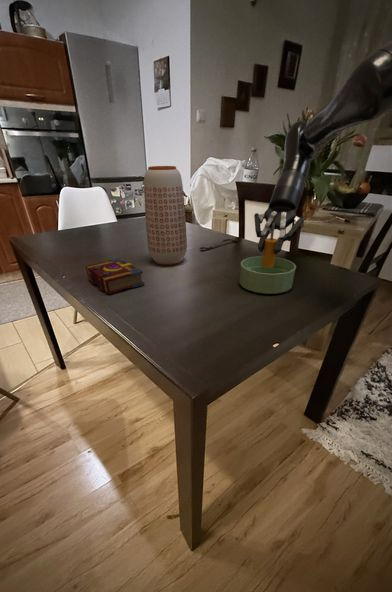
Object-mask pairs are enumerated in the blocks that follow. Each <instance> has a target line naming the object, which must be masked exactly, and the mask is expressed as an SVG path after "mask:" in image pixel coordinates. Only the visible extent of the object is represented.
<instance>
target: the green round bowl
mask: <svg viewBox="0 0 392 592" xmlns="http://www.w3.org/2000/svg"><path fill="white" fill-rule="evenodd" d="M262 258H263V255H257V256H256V255H255V256H250V257H247V258H245V259H243V260H242V261H240V268H239V279H238V282H239V285H240V286H241V287H242V288H244V289H245V290H247V291H250V292H253V293H259V294H267V295H274V294H282V293H285V292H288V291H289V290H291V289H292V288H293V285H294V280H295V275H296V270H297V265H296V264H295V263H294V262H293V261H292V260H289V259H286V258H283V257H278V256H275V263H274V267H272V268H265V267H263V266H262Z"/></svg>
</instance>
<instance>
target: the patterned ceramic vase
mask: <svg viewBox="0 0 392 592" xmlns="http://www.w3.org/2000/svg"><path fill="white" fill-rule="evenodd" d="M143 177H144V178H143V186H144V187H143V197H144V198H143V199H144V215H145V229H146V241H147V250H148V253H149V256H150V257H151V258H152V260H153V261H154V262H155V263H156V264H157V265H160V266H168V267H169V266H175V265H178V264H180V263H181V262H182V260H184V258H185V256H186V254H187V251H188V241H187V240H188V239H187V221H186V220H187V219H186V208H185V206H186V205H185V196H184V195H185V194H184V185H183V179H182V175H181V172H180V170H179V169H178V168H177V166H175V165H152V166H148V167H147V170H145V173H144V176H143Z"/></svg>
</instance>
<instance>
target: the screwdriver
mask: <svg viewBox="0 0 392 592" xmlns="http://www.w3.org/2000/svg"><path fill="white" fill-rule="evenodd" d="M274 227H275V224H272V229H271V233H270V235H269V236H270V237H269V238H268V237H267V239H265V242H264V250H263V252H262V256H263V258H262V266H263V267H265V268H272V267H274V263H275V257H277V254H274V248H275V245H276V242H277V239H278V238H274V234H275V229H274Z"/></svg>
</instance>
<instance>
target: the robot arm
mask: <svg viewBox="0 0 392 592" xmlns="http://www.w3.org/2000/svg"><path fill="white" fill-rule="evenodd" d="M391 111H392V39H391V40H390V41H388V42H387V43H385V44H384V45H382V46H381V47H378V48H377V49H376V50H375V51H373V52H371V53H370V54H368V56H366V57H365V58H363V60H362V61H360V63H358V64H357V66H356V67H355V68H354V69H353V71H352V72H351V73H350V74H349V76H348V77H347V79H346V80H345V82H344V83H343V84H342V86H341V87H340V89H339V90H338V92H337V93H336V94H335V95H334V97H333V98H332V99H331V100H330V101H329V102H328V103H327V104H325V105H324V106H323V107H322V108H321V109H319V110H318V111H317V112H316V113H315V114H314V115H313V116H312V117H311V118H310V119H309V120H308V121H307V122H306V121H305V120H298V121H295V122H294V123H293V124H292V125H291V126H290V128H289V129H288V131H287V133H286V137H285V141H284V155H283V166H282V168H281V171H280V174H279V177H278V179H277V181H276V183H275V186H274V189H273V192H272V194H271V197H270V201H269V204H268V207H267V209H266V210H265V211H264V212H263V213H260V214H259V213H258V212H256V213H254V215H253V218H254V229H255V230H254V231H255V234H256V235H255V236H256V237H257V238H259V240H258V244H257V249H258V251H259V253H263V250H264V242H265V239H267V238H268V237H269V236H270V235H271V229H272V224H275V227H274V230H278V231H279V236H278V237H277V238H276V239H277V242H276V245H275V248H274V254H276V255H278V253H281V251H282V249H283V245H284V243H285V242H292V241H293V239H295V237H296V236H297V235H298V233H299V232H300V230H302V229H303V227H305V226H304V225H305V218H304V217H303V216H301V217H299V216H297V210H298V208H299V204H300V202H301V198H302V197H303V192H304V189H305V184H306V181H307V177H308V174H309V171H310V168H311V161H315V159H317V158H318V156H319V155H320V154H321V152H322V151H323V149H324V147H325V146H326V145H327V144H328V143H330V142H332V141H333V140H335V139H336V138H337V137H338V136H340V135H341V134H342V133H343V132H344V131H345V130H347V129H349V128H352V127H356V126H358V125H362V124H364V123H368V122H371V121H374V120H376V119H379V118H381V117H383V116H385V115H386V114H388V113H389V112H391ZM264 220H265V222H266V223H265V224H264V227H263V229H261V224H262V223H263V221H264ZM292 224H293V225H292ZM291 225H292V227H290V229H289V230H288V232H287V228H288V227H289V226H291ZM286 232H287V233H286Z"/></svg>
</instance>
